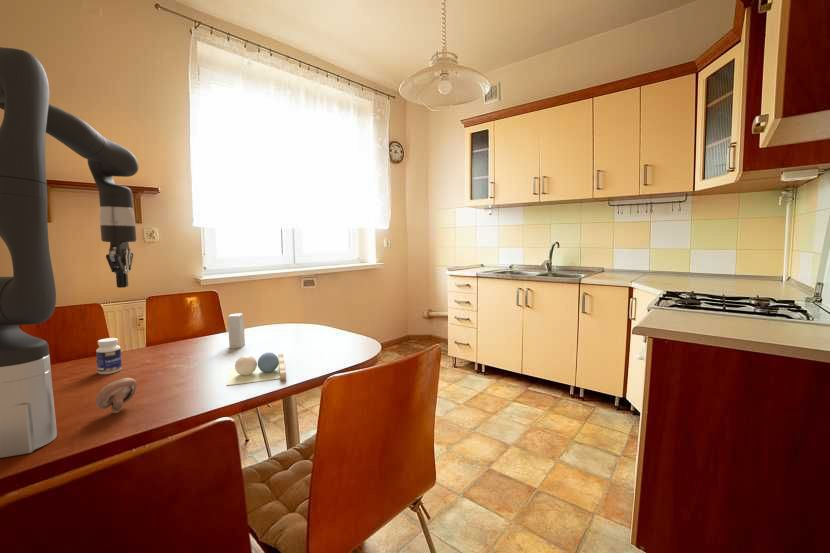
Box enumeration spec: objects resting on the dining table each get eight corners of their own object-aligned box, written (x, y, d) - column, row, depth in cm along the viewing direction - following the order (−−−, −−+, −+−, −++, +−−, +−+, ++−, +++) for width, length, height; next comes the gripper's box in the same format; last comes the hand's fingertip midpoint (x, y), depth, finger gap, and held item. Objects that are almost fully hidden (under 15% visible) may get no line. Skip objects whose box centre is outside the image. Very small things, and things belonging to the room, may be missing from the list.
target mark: (280, 378, 107) (280, 378, 107) (226, 385, 101) (226, 385, 101) (278, 363, 120) (278, 363, 120) (230, 369, 114) (230, 368, 114)
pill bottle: (108, 375, 108) (105, 342, 107) (92, 374, 109) (89, 341, 108) (126, 368, 114) (124, 337, 113) (112, 367, 115) (109, 336, 114)
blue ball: (283, 362, 111) (266, 352, 108) (270, 379, 110) (252, 368, 107) (282, 356, 116) (266, 346, 114) (269, 372, 115) (253, 362, 113)
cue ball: (260, 373, 108) (253, 355, 107) (238, 381, 106) (231, 363, 105) (259, 367, 114) (252, 349, 112) (239, 375, 111) (232, 357, 110)
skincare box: (241, 347, 137) (240, 316, 135) (228, 348, 136) (227, 316, 134) (245, 343, 143) (244, 312, 141) (232, 343, 142) (231, 313, 140)
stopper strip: (285, 380, 105) (285, 372, 105) (280, 381, 105) (280, 372, 105) (283, 361, 122) (283, 353, 122) (278, 361, 121) (278, 354, 121)
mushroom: (96, 422, 81) (93, 387, 80) (97, 412, 86) (94, 379, 85) (139, 411, 86) (137, 378, 85) (137, 402, 90) (135, 371, 90)
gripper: (126, 223, 95) (131, 289, 97) (142, 225, 108) (146, 284, 109) (90, 223, 93) (95, 291, 94) (110, 225, 105) (115, 285, 106)
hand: (122, 287), depth 102 cm, fingers closed
